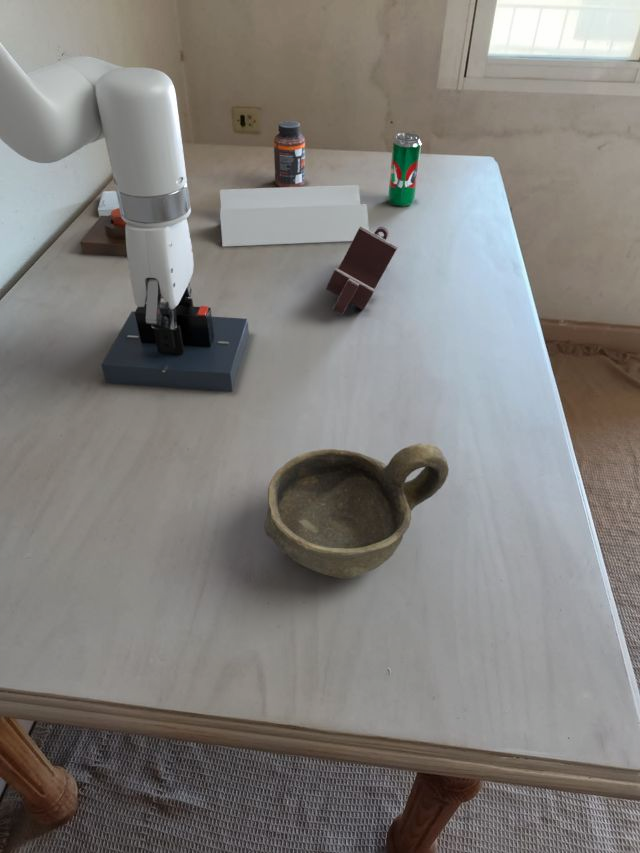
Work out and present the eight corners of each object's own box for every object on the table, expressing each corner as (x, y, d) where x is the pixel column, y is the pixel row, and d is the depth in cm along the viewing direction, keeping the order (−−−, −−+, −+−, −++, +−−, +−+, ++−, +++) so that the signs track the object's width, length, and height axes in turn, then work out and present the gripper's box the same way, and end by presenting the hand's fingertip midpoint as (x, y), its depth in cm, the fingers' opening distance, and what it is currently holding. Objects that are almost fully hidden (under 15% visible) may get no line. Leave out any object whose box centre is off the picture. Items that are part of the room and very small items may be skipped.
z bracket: (363, 251, 114) (369, 240, 107) (224, 257, 111) (222, 246, 105) (358, 185, 114) (364, 170, 108) (219, 190, 112) (217, 175, 105)
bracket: (316, 303, 88) (349, 240, 82) (341, 269, 102) (370, 213, 96) (355, 325, 88) (389, 263, 82) (374, 287, 102) (404, 233, 97)
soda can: (414, 197, 121) (422, 132, 113) (413, 209, 117) (421, 142, 109) (388, 196, 122) (394, 130, 113) (386, 206, 118) (392, 140, 110)
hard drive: (97, 209, 112) (168, 205, 113) (102, 190, 118) (169, 187, 119) (99, 218, 113) (169, 214, 114) (104, 199, 119) (171, 195, 120)
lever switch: (104, 386, 78) (98, 366, 76) (136, 327, 88) (132, 307, 86) (231, 395, 77) (229, 375, 75) (249, 334, 87) (248, 315, 85)
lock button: (110, 226, 102) (107, 216, 101) (117, 217, 105) (115, 206, 104) (131, 227, 102) (129, 217, 101) (138, 218, 105) (136, 208, 104)
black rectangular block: (140, 342, 80) (134, 310, 77) (146, 332, 81) (139, 301, 78) (210, 347, 79) (206, 315, 76) (214, 337, 81) (210, 305, 78)
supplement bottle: (307, 188, 123) (308, 128, 116) (278, 191, 122) (276, 130, 115) (301, 177, 128) (301, 117, 120) (272, 179, 127) (270, 119, 119)
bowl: (254, 496, 65) (248, 426, 59) (412, 468, 69) (423, 399, 62) (280, 611, 56) (276, 544, 49) (462, 572, 59) (483, 504, 52)
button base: (83, 254, 103) (77, 231, 100) (103, 227, 110) (98, 205, 107) (154, 258, 102) (150, 235, 99) (171, 231, 109) (167, 208, 107)
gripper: (143, 168, 74) (166, 301, 87) (92, 234, 62) (127, 378, 74) (206, 171, 74) (220, 304, 86) (167, 238, 61) (190, 382, 74)
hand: (177, 337), depth 80 cm, fingers open, 5 cm apart
